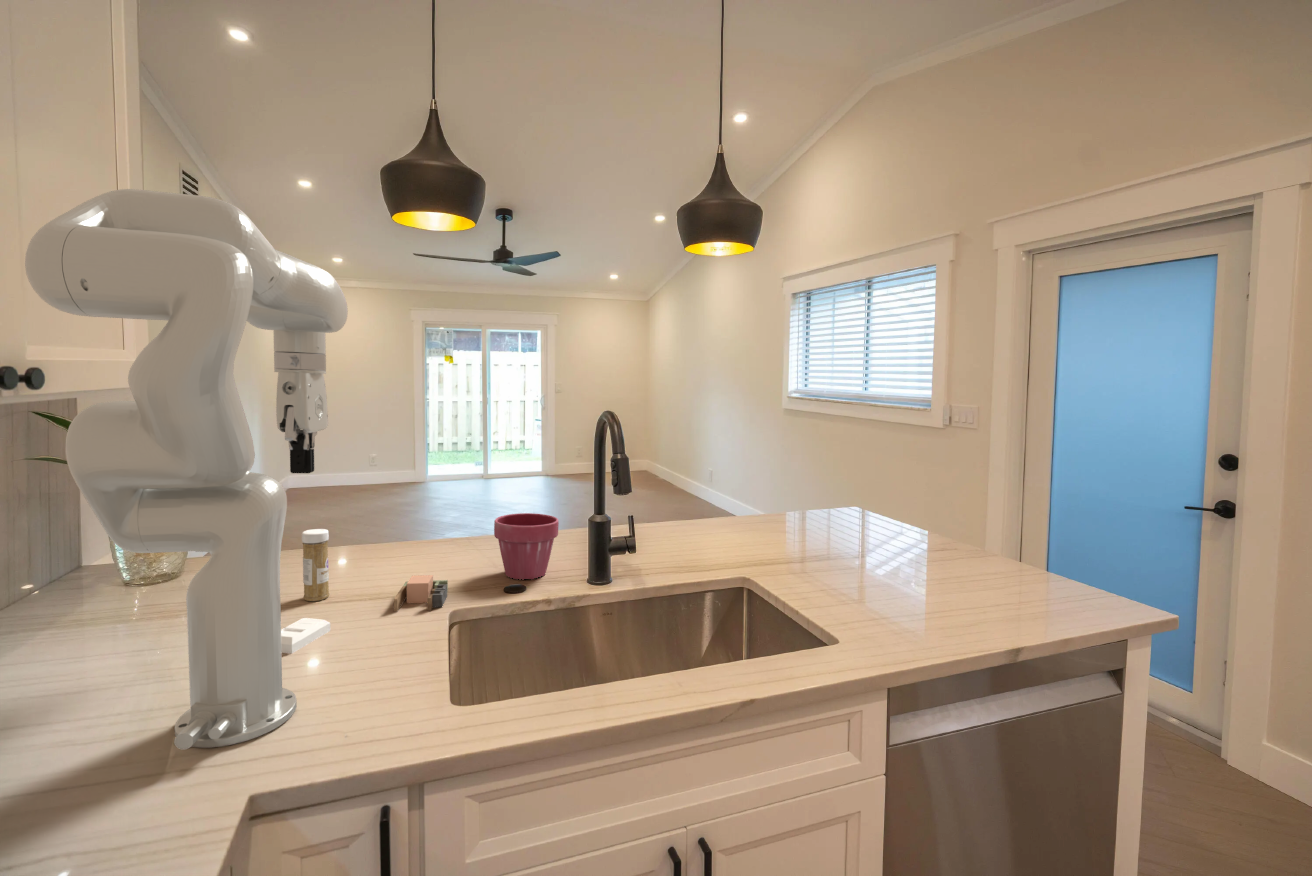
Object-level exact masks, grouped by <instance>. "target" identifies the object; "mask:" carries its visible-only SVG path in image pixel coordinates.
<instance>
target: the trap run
mask: <svg viewBox="0 0 1312 876" xmlns="http://www.w3.org/2000/svg"><path fill="white" fill-rule="evenodd" d="M408 581H409V580H408ZM408 581H405V582H404V584H403V585H402V586H401V588H400V590H399V591H398V592H397V594H396V595H395V597H394V598H393V613H398V611H399V610H400V609H401V607H402V606H403V604H404V602H405V600H407V583H408ZM448 583H449V581H448V579H441V580H440V579H439V580H435V579H433V589H432V594H429V596H428V603H427V612H431V611H432V610H433V608H443V607H444V605H443V604H445V602H446V600H447V597H448V591H449V587H448V586H449V584H448ZM442 606H443V607H442Z"/></svg>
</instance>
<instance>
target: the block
mask: <svg viewBox="0 0 1312 876" xmlns="http://www.w3.org/2000/svg"><path fill="white" fill-rule="evenodd" d="M433 580H434V575H433V574H429V575H428V574H425V575H417V574H416V575H411V577H410V578H409V579H408V583H407V597H406V604H416V603H417V604H420V603H422V604H423V602H425V604H426V602H428V596H429V594H432V589H433Z"/></svg>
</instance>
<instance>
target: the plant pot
mask: <svg viewBox="0 0 1312 876" xmlns="http://www.w3.org/2000/svg"><path fill="white" fill-rule="evenodd" d="M493 523H494V525H493V527H494V528H493V533H494V534H493V536H494V538H495V539H497V540H498V545H499V550H500V555H501V559H502V564H503V569H504V573H505V576H506V577H507V576H508V577H507V578H509V577H510V579H512V578H513V579H512V580H518V579H519V580H521V579H522V580H521V581H523V580H524V579H531V580H535V579H534V578H537V579H539V578H538V577H540V578H542V577H541V576H543V577H544V576H545V575H546V574H547V571H548V567H549V562H550V558H551V555H552V550H553V545H554V541H555V540H554V539H555V538H557V537H558V535H559V518H557V517H556V516H553V515H549V514H545V513H544V514H543V513H535V512H533V513H532V512H529V513H527V512H525V513H524V512H523V513H522V512H521V513H520V512H518V513H511V514H504V515H501V516H498V517H496V518H495V519H494V522H493ZM545 573H546V574H545ZM524 581H525V580H524Z"/></svg>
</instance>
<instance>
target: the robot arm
mask: <svg viewBox="0 0 1312 876" xmlns="http://www.w3.org/2000/svg"><path fill="white" fill-rule="evenodd" d="M24 259H25V260H24V267H25V274H26V276H27V279H28V282H29V284H30V286H31V288H32V290H33V291H34V292H35V293H36V294H37V295H38V297H39V298H40V299H41V300H42V301H44V302H45V303H46V304H47V305H49V306H50V307H52V308H55V309H57V310H58V311H59V312H60V311H61V312H64V313H67V314H70V315H75V316H80V317H89V318H90V317H91V318H110V319H111V318H113V319H128V320H131V319H132V320H147V321H167V322H166V324H165V325H164V327H163V328H162V330H160V332H159V333H158V334H157V335H156V336H155V337H154V338H153V339H152V340H151V341H150V342H149V343H148V344H147V345H146V346H145V347H144V348H143V349H141V351H140V352H139V354H138V355H137V356H136V358H135V360H134V361H133V363H132V365H130V368H129V370H128V375H127V380H128V381H127V382H128V386H129V388H130V390H129V391H130V392H131V395H132V397H133V400H113V401H104V402H99V403H96V404H93V405H90V406H88V407H86V408H84V409H82V410H80V412H78V413H77V415H75V416H74V418H73V419H72V421H71V422H70V424H69V426H68V429H67V432H66V436H65V457H66V463H67V467H68V470H69V472H70V474H71V476H72V478H73V480H74V482H75V484H76V486H77V488H78V490H79V491H80V493H81V495H82V496H83V498H84V499H85V500H86V502H87V505H89V507H90V509H91V510H92V512H93V514H94V515H95V517H96V518H97V521H98V522H99V523H100V525H101V527H102V528H103V530H104V532H105V533H106V535H107V536H108V537H109V538H110V540H111V541H112V542H113V543H114V545H116V546H117V547H119V548H120V549H122V550H124V551H128V552H129V553H135V554H136V553H139V554H158V553H160V554H161V553H180V552H181V553H183V552H185V553H186V552H195V553H198V552H199V553H203V552H204V553H209V554H210V558H209V559H208V560H207V562H206V563H205V564H204V565H203V566H202V567H201V568H200V569H199V570H198V572H197V573H196V574H195V575H194V576H193V577H192V579H191V580H190V583H189V585H188V588H187V591H186V599H185V600H186V622H187V625H186V626H187V644H188V645H187V647H188V648H187V649H188V651H187V652H188V675H189V676H188V677H189V679H188V680H189V703H190V705H189V706H190V708H189V709H187V710H186V711H185V712H184V713H182V715H180V717H179V718H178V719H177V721H176V722H175V725H174V737H175V738H174V743H173V744H174V746H175V747H176V748H177V749H179V750H188V749H190V748H191V747H192V748H199V749H200V748H209V749H210V748H216V747H217V748H219V747H226V746H232V745H235V744H239V743H243V742H244V743H245V742H247V741H250V740H253V739H256V738H258V737H261V736H263V735H265V734H267V733H269V732H271V731H273V730H275V729H277V728H278V727H280V726H281V725H283V724H285V722H287V721H288V720H289V719H290V718H291V717H292V716H293V714H294V713H295V711H296V709H297V697H296V694H295V693H294V692H293V691H292V690H289V689H288V688H285V687H283V671H282V670H283V666H282V665H283V664H282V653H281V629H282V625H281V624H282V623H281V621H282V615H281V614H282V612H281V611H282V610H281V608H282V607H281V553H282V552H281V550H282V544H283V543H282V541H283V535H284V530H285V529H284V528H285V522H286V517H287V510H288V509H287V508H288V496H287V492H286V490H285V488H284V486H283V484H281V482H280V481H278V480H277V479H276V478H274V477H272V476H270V475H267V474H263V473H257V472H251V470H252V468H253V465H254V463H255V459H256V458H255V455H256V454H255V445H254V440H253V435H252V432H251V429H250V426H249V423H248V420H247V416H246V412H245V410H244V407H243V403H242V400H241V398H240V395H239V390H238V388H237V384H236V380H235V375H234V368H235V367H234V366H235V360H236V357H237V353H238V349H239V347H240V343H241V340H242V337H243V334H244V332H245V327H246V325H247V323H248V324H250V325H251V326H253V327H255V328H258V329H261V330H265V331H266V330H267V331H273V332H272V333H273V368H274V371H273V372H274V373H278V374H277V383H276V398H275V399H276V401H275V402H276V403H275V405H276V406H275V415H276V416H275V418H276V426H277V430H278V431H280V432H282V433H284V440H285V441H287V442H288V450H289V466H290V467H289V469H290V470H289V472H290V473H291V474H311V473H313V472H315V443H316V436H317V435H318V432H321V431H324V430H326V429H327V428H328V426H329V414H328V412H329V411H328V400H327V399H328V397H327V388H326V380H325V375H326V374H327V359H326V358H327V355H326V353H327V350H326V348H327V347H326V343H327V342H326V340H327V339H326V334H327V333H329V334H330V333H337V332H339V331H340V330H342V329H343V327H344V326H345V325H346V323H347V319H348V311H349V310H348V304H347V299H346V296H345V293H344V292H343V290H342V287H341V286H340V284H339V283H338V282H337V280H336V278H335V277H334V276H333V275H332V274H331V273H330V272H328V271H327V270H325V269H323V268H322V267H319V266H317V265H315V264H313V263H310V262H309V261H308V262H307V261H305V260H303V259H300V258H298V257H296V256H293V255H291V254H288V253H286V252H284V251H281V250H278V249H276V248H275V247H274V246H273V245H272V244H271V243H270V241H269V240H268V239H267V238H266V237H265V235H264V234H263V233H262V232H261V230H260V229H259V228H258V227H257V226H256V224H255V223H254V222H253V221H252V220H251V218H249V216H248V215H247V214H246V213H245V212H244V211H242V210H241V209H240V208H239V207H238V206H236V205H234V204H233V203H230V202H229V201H226V200H224V199H219V198H216V197H212V196H204V195H197V194H188V193H177V192H167V191H159V190H158V191H157V190H156V191H155V190H148V189H138V188H137V189H136V188H122V189H116V190H110V191H108V192H104V193H102V194H99V195H95V196H94V197H92V198H90V199H88V200H86V201H84V202H82V203H81V204H78V205H76V206H74V207H73V208H71V209H70V210H67V211H65V212H64V213H62V214H61V215H58V216H57V217H55V218H53V219H52V220H50V221H48V222H46V223H45V224H44V225H43V226H41V227H40V228H39V229H38V230H37V231H36V233H34V235H33V236H32V238H30V241H29V243H28V244H27V248H26V251H25V258H24Z"/></svg>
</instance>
